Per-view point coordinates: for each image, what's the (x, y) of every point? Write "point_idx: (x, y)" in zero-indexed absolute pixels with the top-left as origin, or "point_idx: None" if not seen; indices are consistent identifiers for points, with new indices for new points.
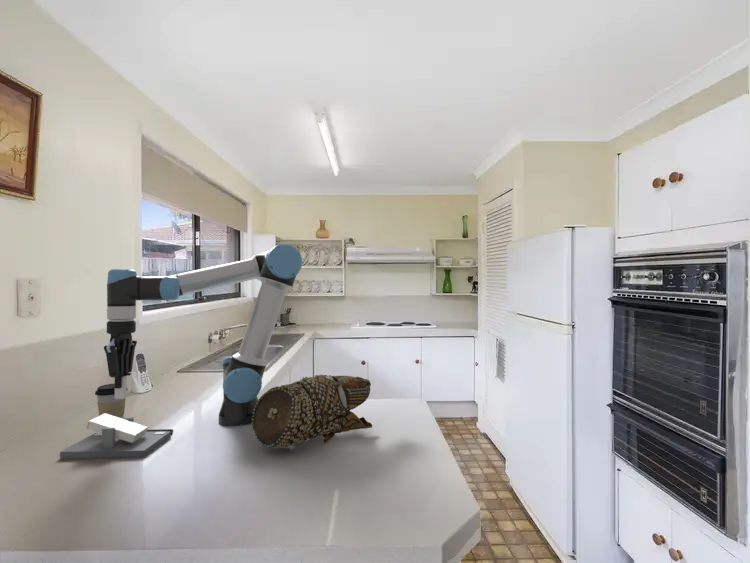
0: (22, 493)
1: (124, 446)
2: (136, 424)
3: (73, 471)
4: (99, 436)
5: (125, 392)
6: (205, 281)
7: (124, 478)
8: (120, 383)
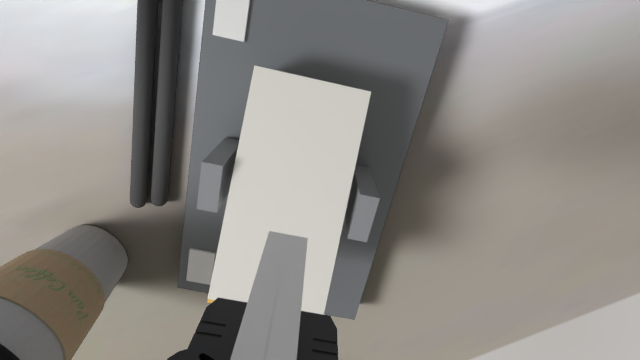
0: (581, 289)
1: (368, 125)
2: (256, 124)
3: (475, 227)
4: None
5: (279, 256)
6: None
7: (624, 32)
8: (314, 348)
